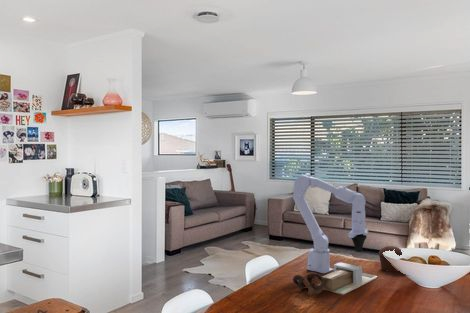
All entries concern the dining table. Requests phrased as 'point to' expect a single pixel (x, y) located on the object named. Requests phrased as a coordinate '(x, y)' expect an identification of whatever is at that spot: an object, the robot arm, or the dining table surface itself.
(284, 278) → the dining table surface
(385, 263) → the muffin
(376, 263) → the dining table surface
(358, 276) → the tunnel
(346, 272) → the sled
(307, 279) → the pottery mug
